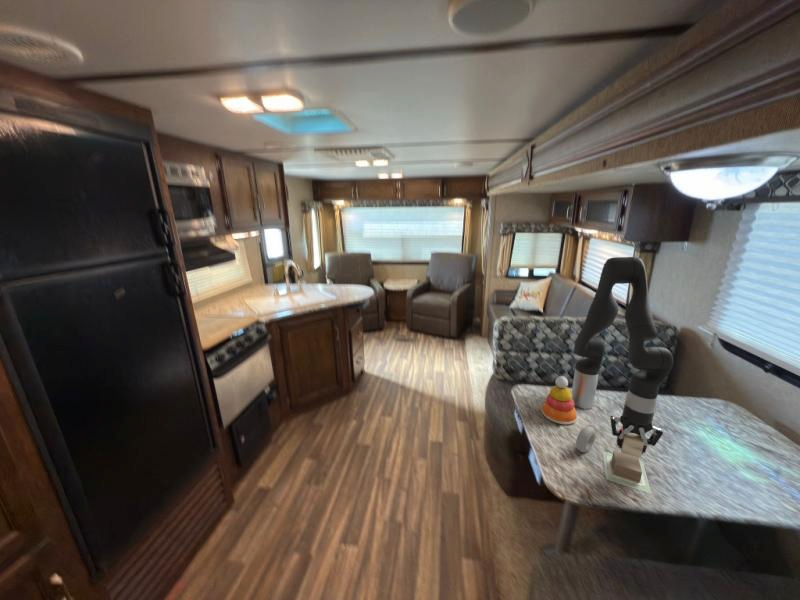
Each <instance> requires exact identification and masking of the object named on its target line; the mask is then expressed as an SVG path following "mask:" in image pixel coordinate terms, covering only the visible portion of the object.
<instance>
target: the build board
mask: <svg viewBox="0 0 800 600" xmlns="http://www.w3.org/2000/svg"><path fill="white" fill-rule="evenodd" d="M612 456H613V452H612V453H611V452H608V451H604V450H602V457H603V465H604V474H605V480H607V481H611V482H613V483H616V484H620V485H623V486H625V487H628V488H632V489H634V490H638V491H640V492H644V493H647V494H650V495H653V493H652V491H651V490H652V489H651V487H650V483H649V479H648V476H647V472H646V469H645V465H644V462H642V461H639V462H640V466H641V470H642V476H641V480H640V482H637V481H634V480H630V479H627V478H624V477H621V476H618V475H615V474H614V471H613V465H612Z"/></svg>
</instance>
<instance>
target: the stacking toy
mask: <svg viewBox="0 0 800 600" xmlns="http://www.w3.org/2000/svg"><path fill="white" fill-rule="evenodd" d="M568 386H569V381H568V379H567V378H566V377H565V376H563V375H560V376H558V377H557V378H556V379H555V385H553V387H552V388H551V389H550V392H549V394H548V395H547V397H546V400H545V402H544V403H543V405H542V406H541V408H540V409H541V410H540V411H541V413H542V415H544V417H545V418H546V419H548V420H549V421H551V422H553V423H556V424H560V425H573V424H574V423H576V422H577V421H578V419H579V416H578V415H579V414H578V413H577V410H576V408H575V407H576V406H575V405H574V401H573V399H572V390H571V389H570V388H569V387H568Z"/></svg>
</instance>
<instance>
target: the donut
mask: <svg viewBox="0 0 800 600" xmlns="http://www.w3.org/2000/svg"><path fill="white" fill-rule="evenodd" d="M596 437H597V432H596V429H594V427H592V426H585V427H583V428H581V430H580V431H579V433H578V435H577V437H576V441H575V448H576V449H577V450H578V451H579V452H581V453H588V451H590V450H591V448H592V447H593V445H594V443H595V441H596Z"/></svg>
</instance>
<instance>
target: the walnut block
mask: <svg viewBox="0 0 800 600" xmlns="http://www.w3.org/2000/svg"><path fill="white" fill-rule="evenodd" d="M612 454H613V456H612V465H613V471H614V474H615V475H618V476H621V477H624V478H627V479H630V480H634V481H637V482H640V480H641V476H642V470H641V466H640V462H641V461H640V458H638V457H634V456H631V455H627V454H624V453H622V452H621V451H616V450H613V452H612Z"/></svg>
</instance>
